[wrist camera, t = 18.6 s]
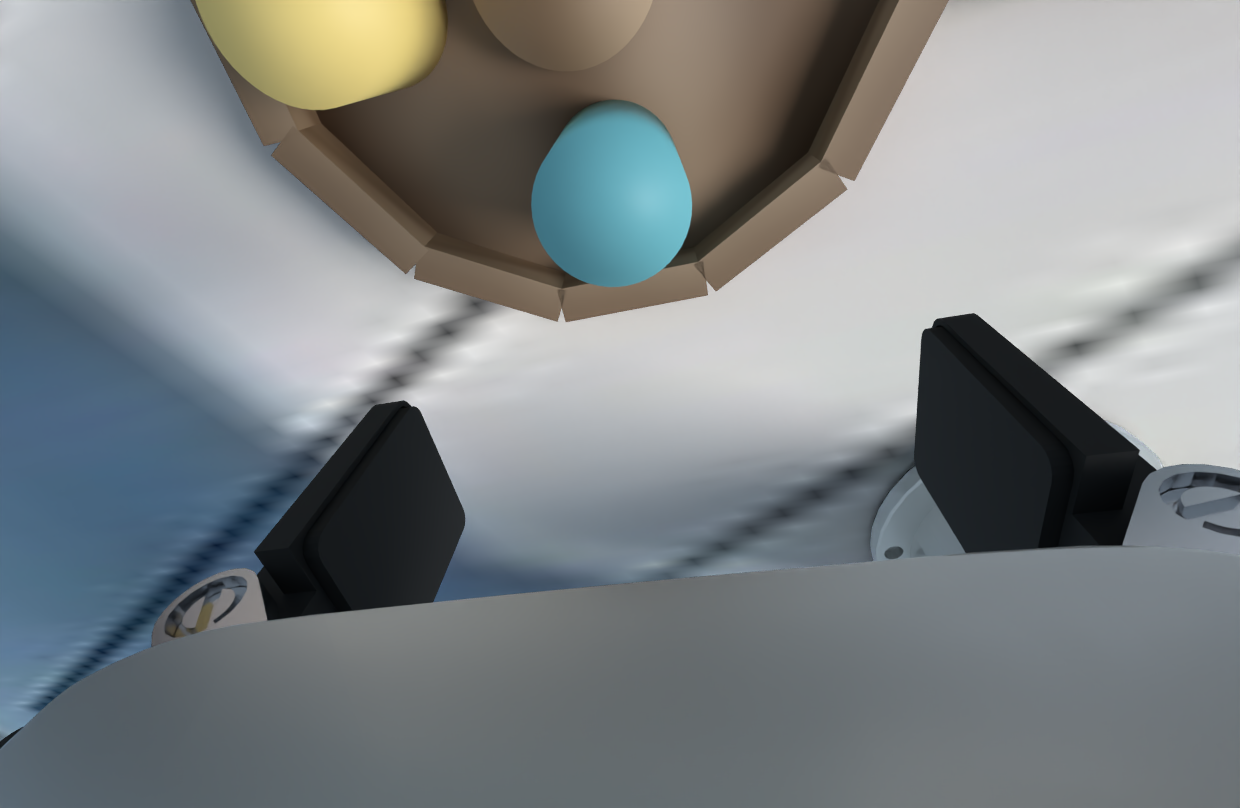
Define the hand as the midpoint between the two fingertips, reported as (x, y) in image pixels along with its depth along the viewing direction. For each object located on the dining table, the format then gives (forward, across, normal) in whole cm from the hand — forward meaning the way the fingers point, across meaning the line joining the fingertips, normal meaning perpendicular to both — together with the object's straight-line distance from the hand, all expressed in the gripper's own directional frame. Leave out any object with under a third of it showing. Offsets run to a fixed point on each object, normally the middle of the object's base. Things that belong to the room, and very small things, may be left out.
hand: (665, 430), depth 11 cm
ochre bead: (+10, +7, -9) cm, 15 cm away
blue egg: (+11, +1, -3) cm, 11 cm away
